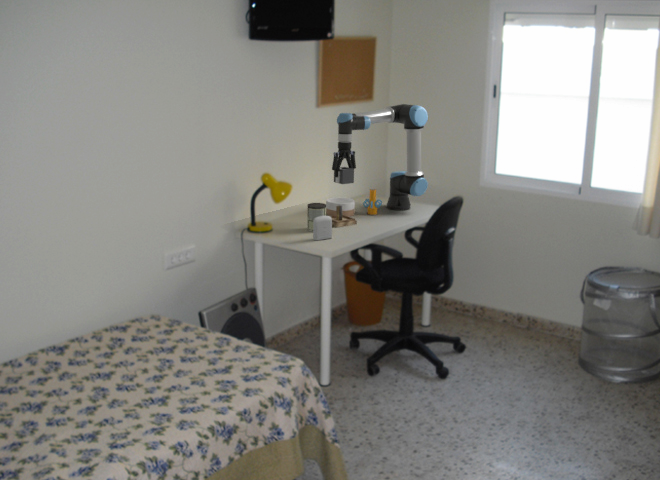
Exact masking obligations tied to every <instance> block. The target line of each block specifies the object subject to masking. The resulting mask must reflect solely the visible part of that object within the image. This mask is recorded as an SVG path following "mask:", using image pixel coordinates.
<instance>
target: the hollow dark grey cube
mask: <svg viewBox="0 0 660 480" xmlns="http://www.w3.org/2000/svg"><path fill="white" fill-rule="evenodd" d="M339 171H340V183H338V184H340V185H348V184H354V182H355V169H353V168H349V167H347V166H340V169H339ZM333 182H334V183H336V177H335V171H334V170H333ZM336 184H337V183H336Z"/></svg>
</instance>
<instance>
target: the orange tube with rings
mask: <svg viewBox="0 0 660 480" xmlns="http://www.w3.org/2000/svg"><path fill="white" fill-rule="evenodd" d="M368 195H369V198H366V199H365V200H364V202H363V204H362V205H363V207H364V208H367V211H366V213H367V215H370V216H374V215H375V216H376V215H378V209H379V208H380V207H381V205H382V204H383V201H382V200H381V199H377V189H376V188H370V189H369V194H368Z"/></svg>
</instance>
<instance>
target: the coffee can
mask: <svg viewBox="0 0 660 480" xmlns="http://www.w3.org/2000/svg"><path fill="white" fill-rule="evenodd" d="M306 206H307V231H308V232H312V233H313V220H314V218H316V217H319V216H327V214H326V203H323V202H311V203H308V204H307V205H306Z"/></svg>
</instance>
